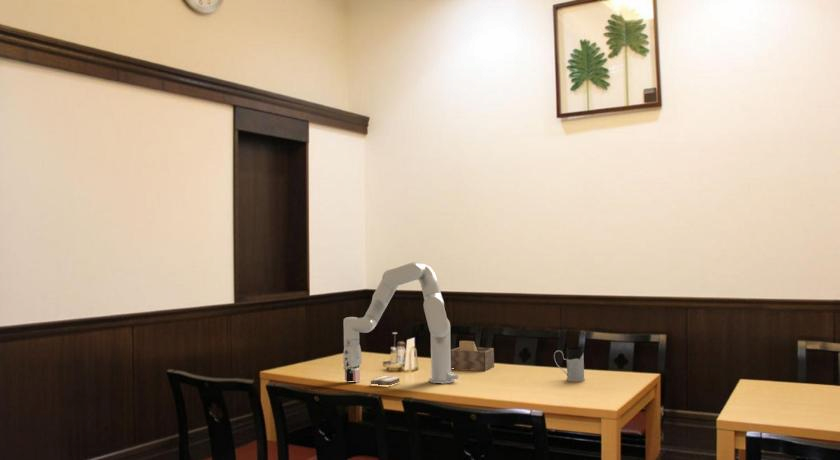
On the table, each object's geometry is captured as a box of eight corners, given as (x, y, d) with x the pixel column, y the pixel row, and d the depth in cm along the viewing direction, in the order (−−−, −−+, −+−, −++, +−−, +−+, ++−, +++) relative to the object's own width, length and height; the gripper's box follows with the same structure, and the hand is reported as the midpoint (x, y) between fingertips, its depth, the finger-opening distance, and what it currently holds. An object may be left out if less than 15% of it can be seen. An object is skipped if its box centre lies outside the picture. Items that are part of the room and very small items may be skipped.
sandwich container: (485, 367, 362) (485, 339, 364) (474, 370, 349) (474, 341, 350) (471, 366, 366) (470, 338, 368) (459, 369, 353) (459, 340, 354)
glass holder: (585, 381, 313) (584, 349, 313) (554, 381, 316) (553, 349, 316) (584, 378, 321) (583, 346, 322) (554, 377, 324) (553, 346, 325)
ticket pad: (399, 383, 319) (399, 376, 319) (389, 387, 310) (389, 380, 310) (381, 382, 323) (381, 375, 323) (370, 386, 314) (370, 379, 314)
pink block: (359, 381, 325) (359, 368, 325) (355, 383, 321) (355, 369, 322) (349, 380, 328) (349, 367, 328) (345, 382, 324) (344, 368, 324)
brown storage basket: (494, 367, 358) (493, 348, 359) (485, 371, 346) (484, 351, 347) (460, 365, 367) (460, 346, 367) (450, 369, 355) (450, 350, 355)
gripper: (348, 345, 316) (349, 384, 315) (367, 340, 331) (368, 377, 330) (335, 344, 319) (336, 383, 319) (354, 340, 334) (355, 377, 334)
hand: (352, 380), depth 324 cm, fingers closed on pink block, 4 cm apart
